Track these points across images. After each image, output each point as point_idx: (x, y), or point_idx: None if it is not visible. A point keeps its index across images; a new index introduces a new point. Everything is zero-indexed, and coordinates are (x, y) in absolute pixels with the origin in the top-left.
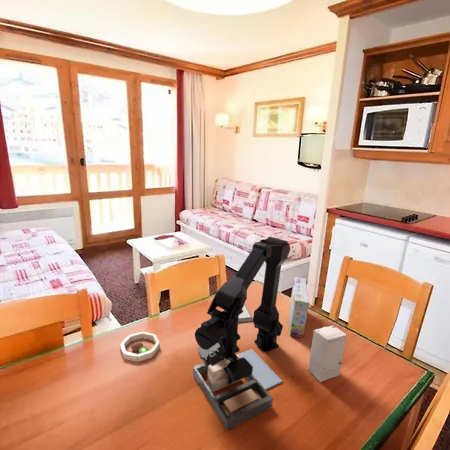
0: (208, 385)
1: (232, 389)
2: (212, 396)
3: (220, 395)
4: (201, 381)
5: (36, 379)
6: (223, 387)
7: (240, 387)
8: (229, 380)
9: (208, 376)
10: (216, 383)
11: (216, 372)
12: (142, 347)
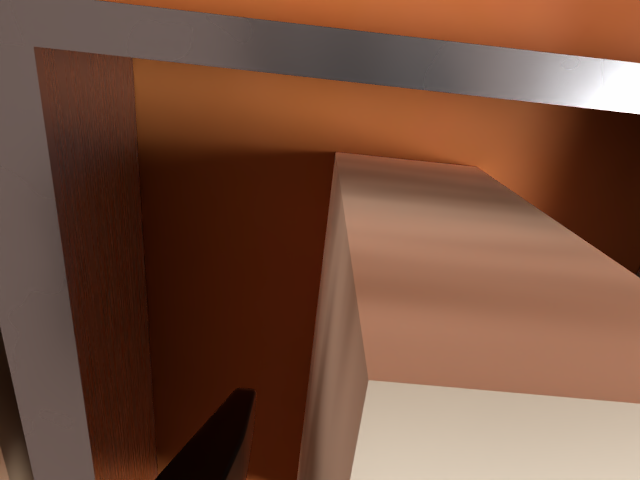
0: (447, 168)
1: (68, 386)
2: (46, 2)
3: (21, 165)
4: (549, 56)
5: None
6: (317, 307)
7: (60, 478)
8: (177, 459)
9: (523, 222)
10: (330, 262)
11: (342, 448)
12: None
